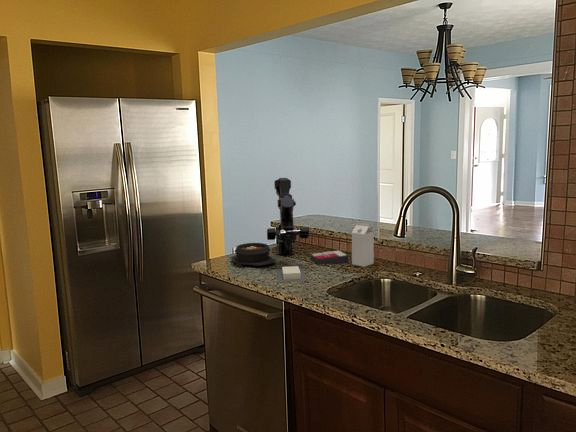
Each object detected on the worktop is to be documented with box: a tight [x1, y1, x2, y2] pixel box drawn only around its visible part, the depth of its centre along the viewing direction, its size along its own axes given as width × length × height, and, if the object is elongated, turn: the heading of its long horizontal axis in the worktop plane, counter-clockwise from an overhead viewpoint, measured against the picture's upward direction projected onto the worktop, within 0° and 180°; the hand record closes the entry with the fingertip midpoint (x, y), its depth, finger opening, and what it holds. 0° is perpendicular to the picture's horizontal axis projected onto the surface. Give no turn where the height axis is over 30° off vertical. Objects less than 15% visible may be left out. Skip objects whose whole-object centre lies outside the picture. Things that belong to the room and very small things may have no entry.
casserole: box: [230, 242, 277, 267], centre depth 226 cm, size 25×19×8 cm
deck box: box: [281, 265, 301, 280], centre depth 202 cm, size 3×7×11 cm
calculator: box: [310, 250, 349, 265], centre depth 226 cm, size 11×4×15 cm
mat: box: [275, 267, 308, 283], centre depth 204 cm, size 20×12×1 cm, turn 4°
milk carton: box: [351, 222, 375, 268], centre depth 218 cm, size 7×7×19 cm
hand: (289, 249), depth 210 cm, fingers closed
